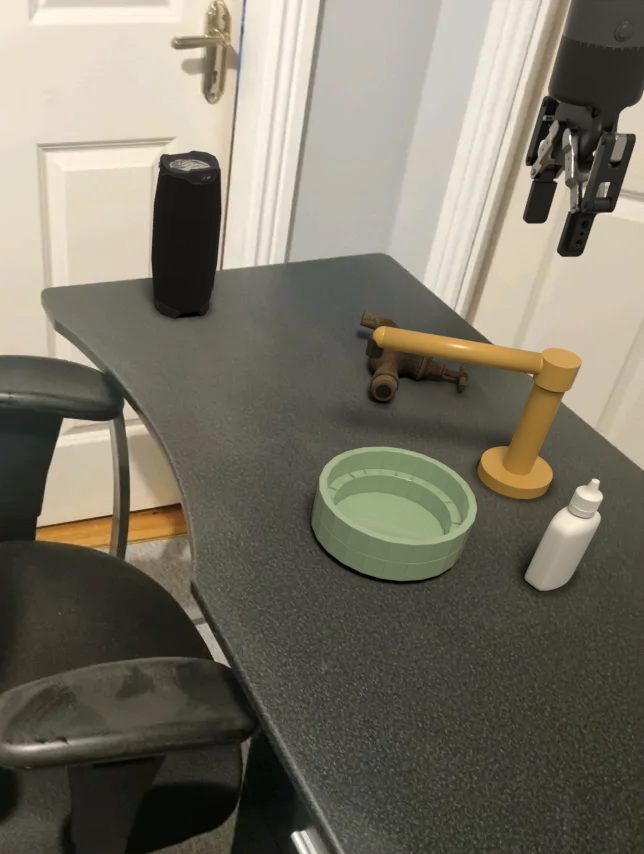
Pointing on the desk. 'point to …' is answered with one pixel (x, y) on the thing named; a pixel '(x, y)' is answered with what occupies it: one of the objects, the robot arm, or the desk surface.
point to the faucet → (403, 364)
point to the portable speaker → (186, 232)
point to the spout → (482, 355)
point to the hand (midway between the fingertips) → (550, 238)
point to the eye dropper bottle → (566, 539)
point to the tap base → (523, 451)
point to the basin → (392, 513)
